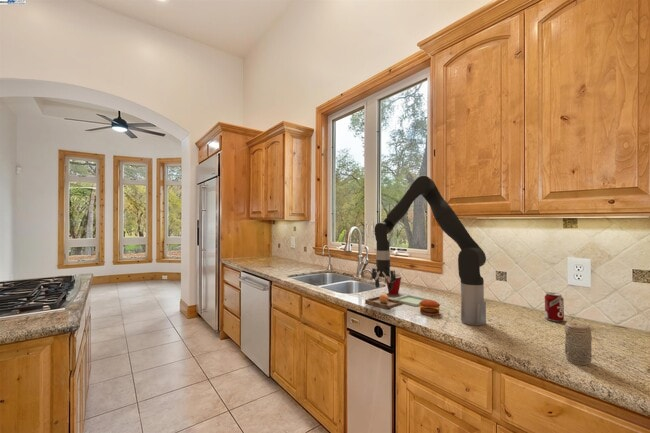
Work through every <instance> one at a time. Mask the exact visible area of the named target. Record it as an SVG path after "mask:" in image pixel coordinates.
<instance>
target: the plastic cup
mask: <svg viewBox="0 0 650 433" xmlns="http://www.w3.org/2000/svg"><path fill="white" fill-rule="evenodd" d="M390 276H391V274H390ZM395 276H396V281H395V282H393V283H392V284H393V288H392V290H389V289H388V283H389V282H388V280H387V279H386V278H385V281H386V286H387V290H388V294H389V295H393V296H395V295H399V293H400V287H401V280H402V277H403V275H402V274H399V273H395Z"/></svg>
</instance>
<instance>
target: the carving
mask: <svg viewBox="0 0 650 433" xmlns="http://www.w3.org/2000/svg"><path fill="white" fill-rule="evenodd" d="M564 333H565V338H564V339H565V340H564V353H565V358H566V360H567V361H568V362H570V363H571V364H575V365H578V366H587V365H589V364H591V363H592V356H593V354H592V351H593V350H592V340H593V337H592V330H591V327H590V326H589V325H588V324H585V323H580V322H571V321H568V322H566V323H565V325H564Z"/></svg>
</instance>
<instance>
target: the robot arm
mask: <svg viewBox="0 0 650 433" xmlns="http://www.w3.org/2000/svg"><path fill="white" fill-rule="evenodd" d="M419 196H422V198H424V200H426V202H427V203H428V205H429V207H430V209H431V212H432V216H433V217H434V220H435V221H436V223H437V224H438V226H439V227H440V229H441V230H442V231H443V233H445V234H446V236H448V237H450V238H451V240H453V241H454V242H455V243H456V244H457V245H458V247H459V248H460V251H459V252H458V256H457V266H458V276H459V278H460V321H461V322H462V323H464V324H467V325H471V326H479V327H481V326H483V325H485V324H486V323H487V310H486V309H487V302H486V300H485V294H484V293H485V292H484V290H485V289H484V288H485V286H484V285H485V284H484V283H485V280H484V277H483V276H482V275H481V269H480V268H481V267H482V266H484V265H485V264H486V262H487V256H486V253H485V251H484V250H483V248H482V247H481V246H480V245H479V244H478V243H477V242H476V241H475V240H474V238H472V236H471V235H470V234H469V231H468V230H467V228H466V227H465V226H464V224H463V222H462V221H461V220H460V218H459V216H458V215H457V213H456V212H455V211H454V209H453V208H452V207H451V206H450V205H449V203H448V202H447V201H446V200H445V199H444V197H443V196H442V195H441V192H440V191H439V189H438V187H437V185H436V183H435V182H434V180H433V179H432V178H430V177H429V176H428V175H424V174H423V175H418V176H417V177H416V178H415V179H414V180H413V182H412V183H411V185H410V186H409V188H408V189H407V191H406V192H405V194H403V196H402V197H401V198H400V200H399V201H398V202H397V203H396V205H395V206H393V207H392V208H391V210H390V211H389V212H388V213H387V214H386V218H385V219H384V220H383V221H379V222H377V223H376V224H375V225H374V236H375V238H374V239H375V241H376V251H375V252H376V253H375V260H376V261H375V262H376V267H373V268H371V270H372V271H371V272H372V273H371V274H372V275H371V279H372V280H374V281H375V282H374V283H375V284H374V285H375V288H377V289H378V288H380V279H381V278H385V280H386V279H387V280H388V282H389V283H388V287H387V290H388V289H389V290H392V288H393V284H392V283H393V282H395V281H396V276H395V274H396V270H395V269H394V270H393V269H392V270H391V253H390V241H389V240H388V234H389V233H390V232H392V231H393V229H394V228H395V227H396V225H397V224H398V223H399V222H400V221H401V219H403V218H404V217H405V215H406V214H407V213H408V211H409V210H410V208H411V206H412V205H413V203H414V201H415V200H416V199H417V198H418V197H419ZM390 274H391V276H390Z"/></svg>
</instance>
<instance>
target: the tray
mask: <svg viewBox="0 0 650 433" xmlns="http://www.w3.org/2000/svg"><path fill="white" fill-rule="evenodd" d="M379 296H380V295H379ZM379 296H375V297H371V298H367V299H365V302H364V303H365V304H368V305H371V306H375V307H378V308H382V309H384V310H392V308H394V307H395V308H396V307H398V306H402V305H403V302H401V301H397V300H393V298H388V302H387V303H381V302H380V300H379Z"/></svg>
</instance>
